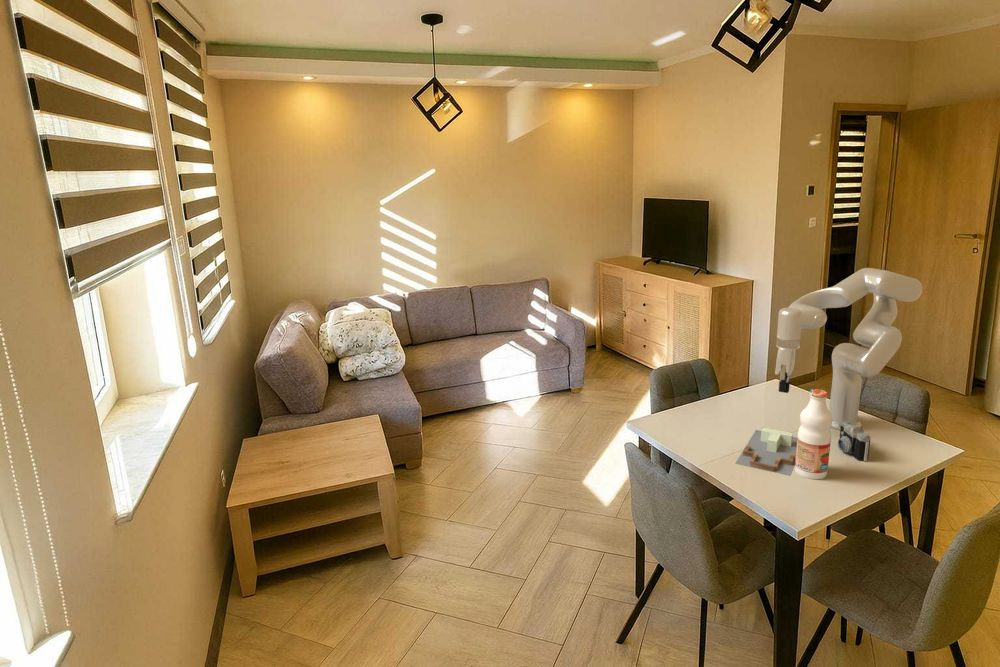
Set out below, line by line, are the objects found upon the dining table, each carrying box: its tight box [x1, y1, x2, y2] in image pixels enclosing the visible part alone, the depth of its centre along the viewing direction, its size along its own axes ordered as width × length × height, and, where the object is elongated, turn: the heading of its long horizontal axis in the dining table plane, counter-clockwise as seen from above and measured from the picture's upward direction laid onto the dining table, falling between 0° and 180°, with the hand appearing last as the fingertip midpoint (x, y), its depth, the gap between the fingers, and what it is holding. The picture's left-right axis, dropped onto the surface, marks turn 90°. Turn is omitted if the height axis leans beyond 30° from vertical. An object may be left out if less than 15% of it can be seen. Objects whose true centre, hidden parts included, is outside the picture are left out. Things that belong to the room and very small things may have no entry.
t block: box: [760, 427, 794, 452], centre depth 214 cm, size 10×10×4 cm
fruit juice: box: [794, 388, 832, 480], centre depth 192 cm, size 9×9×28 cm
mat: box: [734, 429, 797, 477], centre depth 211 cm, size 31×17×1 cm, turn 146°
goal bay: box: [742, 444, 795, 473], centre depth 204 cm, size 13×15×2 cm
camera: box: [837, 421, 872, 462], centre depth 207 cm, size 15×7×10 cm, turn 177°
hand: (783, 391), depth 219 cm, fingers closed
